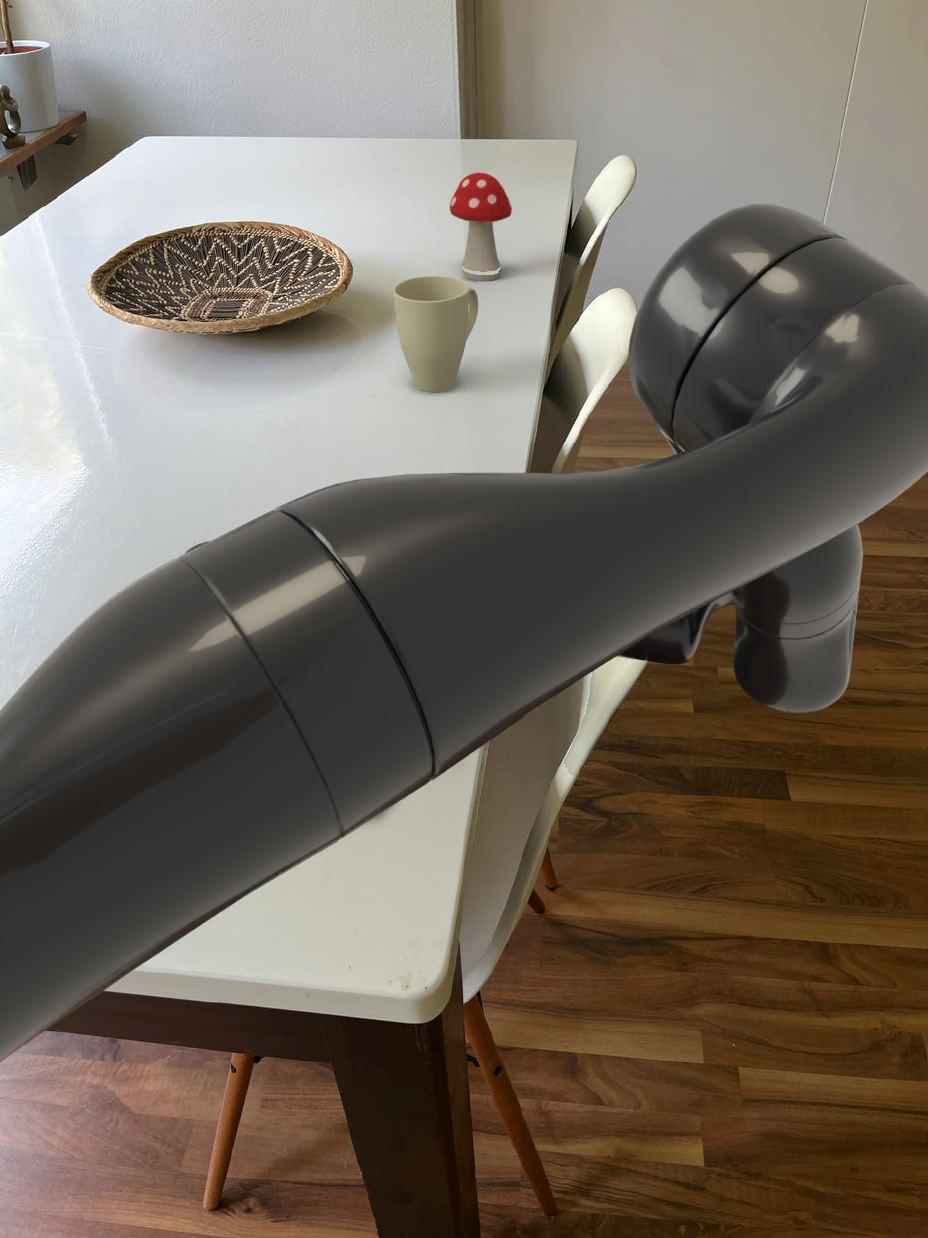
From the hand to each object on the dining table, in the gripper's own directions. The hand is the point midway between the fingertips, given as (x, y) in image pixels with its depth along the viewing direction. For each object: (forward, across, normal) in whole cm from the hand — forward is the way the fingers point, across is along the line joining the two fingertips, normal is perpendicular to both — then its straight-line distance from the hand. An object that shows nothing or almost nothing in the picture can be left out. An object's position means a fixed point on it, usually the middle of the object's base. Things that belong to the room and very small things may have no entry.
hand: (329, 562), depth 72 cm
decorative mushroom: (+14, -96, +11) cm, 98 cm away
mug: (+9, -57, +12) cm, 59 cm away
